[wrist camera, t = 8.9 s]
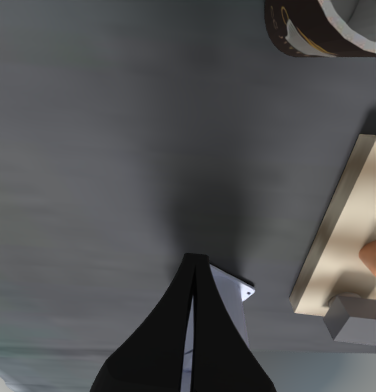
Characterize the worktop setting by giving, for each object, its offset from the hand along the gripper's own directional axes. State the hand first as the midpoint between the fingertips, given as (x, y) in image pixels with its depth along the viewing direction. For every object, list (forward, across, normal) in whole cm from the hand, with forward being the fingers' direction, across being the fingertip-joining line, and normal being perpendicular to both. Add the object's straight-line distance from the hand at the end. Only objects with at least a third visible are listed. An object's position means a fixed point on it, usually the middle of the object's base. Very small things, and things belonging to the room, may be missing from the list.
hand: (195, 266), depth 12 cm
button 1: (+7, -18, +12) cm, 23 cm away
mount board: (+10, -18, +4) cm, 21 cm away
